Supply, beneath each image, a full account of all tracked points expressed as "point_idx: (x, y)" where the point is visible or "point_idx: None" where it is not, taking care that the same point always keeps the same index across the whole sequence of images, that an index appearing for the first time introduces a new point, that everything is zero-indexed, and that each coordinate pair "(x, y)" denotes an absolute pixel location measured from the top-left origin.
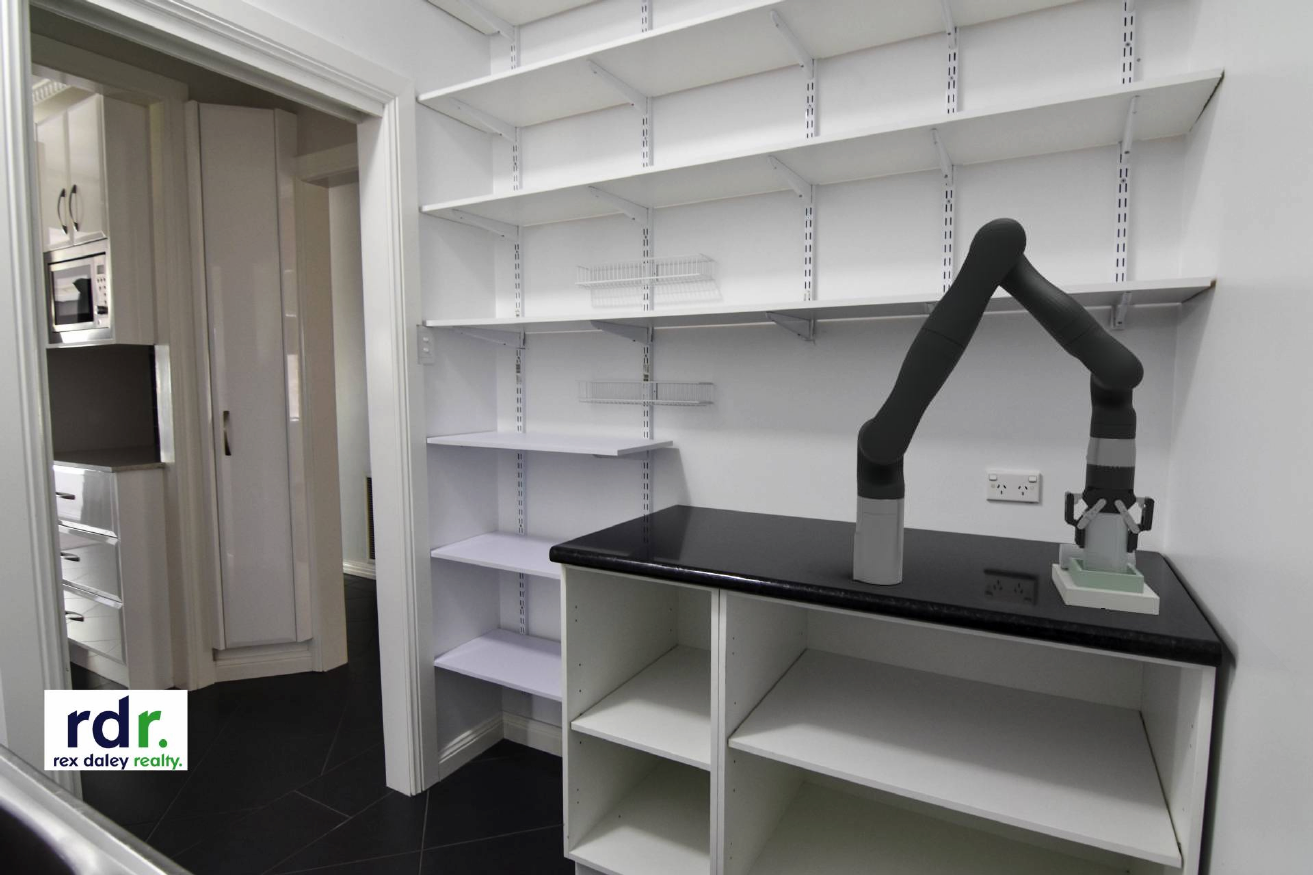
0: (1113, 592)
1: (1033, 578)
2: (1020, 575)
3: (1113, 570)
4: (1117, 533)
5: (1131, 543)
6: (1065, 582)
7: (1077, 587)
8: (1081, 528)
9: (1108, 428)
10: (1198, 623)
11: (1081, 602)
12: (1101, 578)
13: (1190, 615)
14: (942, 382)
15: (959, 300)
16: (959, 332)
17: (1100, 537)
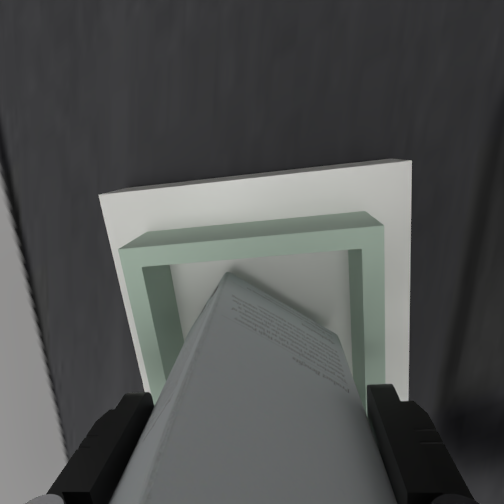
0: (241, 191)
1: (449, 419)
2: (487, 436)
3: (230, 289)
4: (166, 417)
5: (112, 431)
6: (402, 252)
7: (365, 198)
8: (447, 499)
9: None
10: (30, 157)
11: (343, 164)
12: (281, 229)
13: (51, 231)
14: None
15: None
16: None
17: (289, 426)
